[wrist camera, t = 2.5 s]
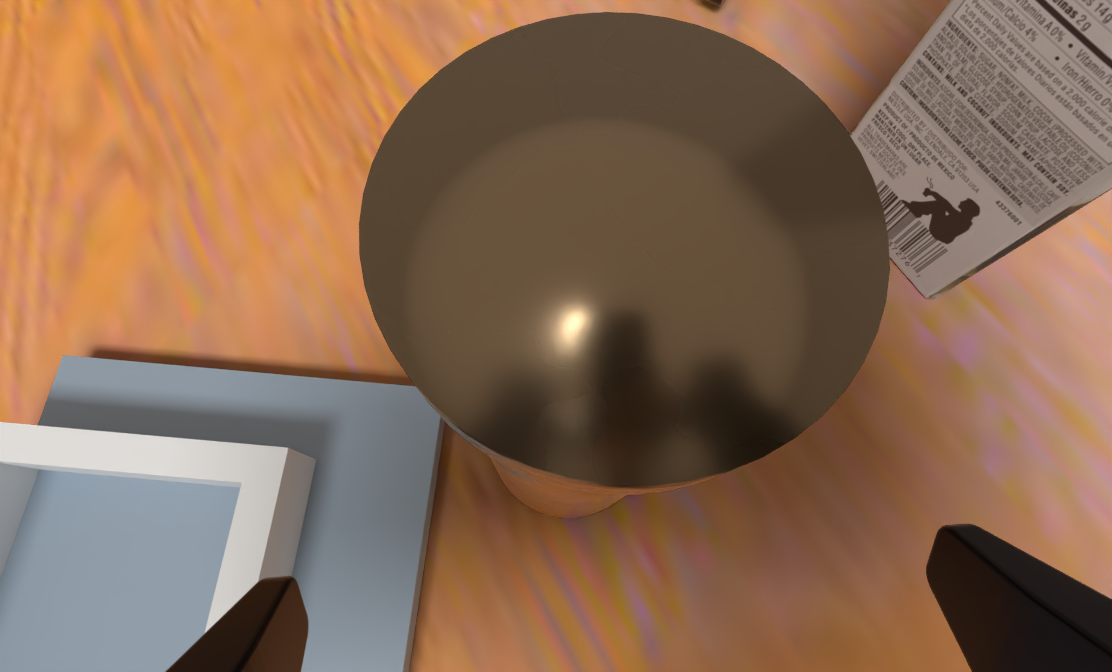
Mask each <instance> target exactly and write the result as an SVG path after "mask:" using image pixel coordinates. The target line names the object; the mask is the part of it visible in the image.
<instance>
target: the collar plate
mask: <svg viewBox="0 0 1112 672" xmlns="http://www.w3.org/2000/svg"><path fill="white" fill-rule="evenodd" d="M444 426H445V421H444V420H443V419H442V418H441V417H440V416H439V414H438V413H437V412H436V411H435V410H434V409H433V408H432V407H431V406H430V405H429V403H428V402H427V401H426V400H425V398H424V397H423V396H422V394H421V393H420V392H419V390H418V389H417V388H416V386H406V385H394V384H383V383H372V382H360V381H349V380H338V379H327V378H315V377H304V376H293V375H281V374H270V373H259V372H248V371H236V370H225V369H214V368H202V367H191V366H180V365H169V364H157V363H146V362H135V361H123V360H112V359H101V358H89V357H78V356H67V355H63V357H62V360H61V363H60V366H59V368H58V371H57V374H56V377H55V379H54V382H53V385H52V388H51V390H50V393H49V396H48V399H47V401H46V404H45V407H44V410H43V412H42V415H41V418H40V421H39V423H38V425H27V424H16V423H4V422H0V672H165V671H166V670H167V669H168V668H169V667H170V666H171V665H172V664H173V663H175V662H176V661H177V660H178V659H179V658H180V657H181V656H182V655H183V654H184V653H185V652H186V651H187V650H188V649H189V648H190V647H191V646H192V645H193V644H194V643H195V642H196V641H197V640H198V639H199V638H200V637H201V636H202V635H203V634H204V633H206V632H207V631H208V630H209V629H210V628H211V627H212V626H213V625H214V624H215V623H216V622H217V621H218V620H219V619H220V618H221V617H222V616H223V615H224V614H225V613H226V612H227V611H228V610H229V609H230V608H231V607H232V606H233V605H234V604H235V603H236V602H238V601H239V600H240V599H241V598H242V597H243V596H244V595H245V594H246V593H247V592H248V591H249V590H250V589H251V588H252V587H253V586H254V585H255V584H256V583H257V582H258V581H260V580H262V579H264V578H267V577H280V576H292V577H294V578H295V579H296V581H297V583H298V586H299V589H300V592H301V596H302V599H303V602H304V606H305V609H306V612H307V616H308V622H309V629H308V638H307V643H306V648H305V653H304V659H303V664H302V669H301V672H409V668H410V661H411V654H412V647H413V640H414V634H415V627H416V620H417V613H418V606H419V599H420V592H421V585H422V578H423V571H424V564H425V558H426V551H427V544H428V537H429V530H430V523H431V516H432V509H433V502H434V495H435V489H436V482H437V475H438V468H439V461H440V454H441V447H442V440H443V433H444Z"/></svg>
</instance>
